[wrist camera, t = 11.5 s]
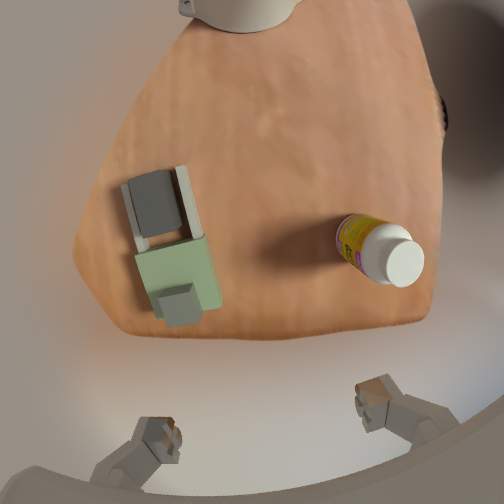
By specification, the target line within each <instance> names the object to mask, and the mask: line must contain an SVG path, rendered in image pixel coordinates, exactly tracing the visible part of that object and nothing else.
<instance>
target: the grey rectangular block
mask: <svg viewBox="0 0 504 504" xmlns="http://www.w3.org/2000/svg"><path fill="white" fill-rule="evenodd" d="M128 183H129V187H130V191H131V195H132V199H133V203H134V207H135V211H136V215H137V219H138V222H139V226H140V230H141V233H142V237H143V239H145V238H149V237H152V236H156V235H160V234H163V233H167V232H171V231H175V230H176V229H178V228H179V227H180V226H182V225H183V224H184V222H183V219H182V215H181V211H180V207H179V203H178V199H177V195H176V191H175V187H174V183H173V179H172V175H171V171H167V170H157V171H154V172H150V173H147V174H144V175H141V176H138V177H136V178H133V179H130V180H128Z"/></svg>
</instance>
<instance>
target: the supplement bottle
mask: <svg viewBox="0 0 504 504" xmlns="http://www.w3.org/2000/svg"><path fill="white" fill-rule="evenodd" d="M336 245H337V249H338V251H339V253H340V254H341V255H342V256H343V257H344V258H345V259H346V260H347V261H349V262H350V263H351V264H352V265H354V266H355V267H356V268H357V269H359V270H360V271H361V272H362V273H364V274H365V275H366V276H367V277H368V278H370V279H371V280H372V281H374V282H376V283H379V284H393V285H394V286H397V287H406V286H408V285H410V284H412V283H413V282H414V281H415V280H416V279H417V278H418V277H419V275H420V273H421V271H422V269H423V265H424V255H423V251H422V249H421V247H420V246H419V245H418V244H417V243H415V242H413V240H412V238H411V236H410V234H409V233H408V232H407V231H406V230H405V229H404V228H403V227H401V226H399V225H396V224H393V223H390V222H387V221H384V220H381V219H378V218H375V217H372V216H369V215H365V214H354V215H351V216H349V217H347V218H346V219H345V220H344V221H343V222H342V223H341V224H340V226H339V228H338V230H337V233H336Z"/></svg>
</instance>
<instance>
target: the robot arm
mask: <svg viewBox="0 0 504 504" xmlns="http://www.w3.org/2000/svg"><path fill="white" fill-rule="evenodd" d="M301 1H303V0H180V1H179V13H180V14H181V15H183V16H187V17H193V18H198V19H200V20H202V21H204V22H205V23H207V24H209V25H211V26H213V27H215V28H218V29H221V30H224V31H229V32H239V33H248V32H257V31H262V30H266V29H269V28H272V27H274V26H277V25H278V24H280V23H282V22H283V21H284V20H286V19H287V18H288V17H289V15H290V14H291V13H292V11H293V9H294V7H295V5H296V4H298V3H299V2H301ZM186 3H189V4H186ZM355 391H356V394H357V396H356V397H355V406H356V410H357V412H358V415H359V416H360V417H362V418H363V419H362V423H363V426H364V428H365V430H366V432H367V433H369V432H372V431H375V430H378V429H381V428H384V427H385V428H386V429H388V430H390V431H391V432H393V433H395V434H397V435H398V436H400V437H402V438H403V439H405V440H407V441H409V442H411V443H412V446H411V449H410V451H409V452H408V453H406V454H404V455H401V456H399V457H396V458H394V459H392V460H389V461H387V462H384V463H382V464H379V465H376V466H374V467H371V468H368V469H365V470H362V471H359V472H356V473H353V474H350V475H346V476H343V477H339V478H336V479H332V480H329V481H325V482H320V483H316V484H312V485H307V486H302V487H298V488H292V489H286V490H281V491H273V492H266V493H257V494H248V495H235V496H207V497H206V496H174V495H161V494H151V493H145V492H144V491H143V490H142V489H141V487H142V485H143V484H144V483H145V482H146V481H147V480H148V479H149V478H150V477H151V476H152V474H153V473H154V472H155V471H156V470H157V469H158V468H159V467H160V466H161V464H178V460H179V455H180V452H179V451H178V449H179V448H180V447H181V445H182V435H181V432H180V430H179V428H178V427H176V426H174V423H175V421H174V420H173V418H172V417H141V418H140V419H139V420H138V423H137V426H136V428H135V431H134V433H133V436H132V439H131V441H127V442H126V443H125V444H123V445H122V446H121V447H120V448H118V449H117V450H115V451H114V452H113V453H111V454H110V455H109V456H107V457H106V458H105V459H103V460H102V461H101V462H99V463H98V464H97V465H96V466H95V469H94V471H93V474H92V476H91V479H90V481H89V482H86V481H82V480H79V479H75V478H71V477H68V476H65V475H62V474H59V473H56V472H53V471H50V470H47V469H45V468H42V467H39V466H31V467H29V468H26V469H24V470H22V471H21V472H19V473H17V474H15V475H13V476H12V477H11V478H10V479H9V481H8V482H7V483H6V485H5V486H4V488H3V490H2V491H1V492H0V504H504V395H502V396H501V397H500V398H499V399H497V400H496V401H495V402H493V403H492V404H490V405H489V406H488V407H486V408H485V409H484V410H482V411H481V412H479V413H478V414H476V415H475V416H473V417H472V418H470V419H469V420H467V421H466V422H464V423H462V424H461V425H460V423H459V422H458V421H457V419H456V418H455V417H454V416H453V414H452V413H451V412H450V410H449V409H448V408H445V407H443V406H439V405H437V404H434V403H431V402H428V401H425V400H422V399H419V398H416V397H413V396H410V395H408V394H405V395H403V394H402V392H401V391H400V390H399V388H398V387H397V385H396V384H395V382H394V381H393V380H392V379H391V377H390V375H389V374H385V375H382V376H379V377H377V378H373V379H370V380H368V381H365V382H362V383H359V384H356V386H355Z"/></svg>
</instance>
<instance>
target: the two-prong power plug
mask: <svg viewBox="0 0 504 504" xmlns="http://www.w3.org/2000/svg"><path fill="white" fill-rule="evenodd" d="M175 169H176V173H177V177H178V181H179V186H180V190H181V194H182V198H183V202H184V206H185V210H186V213H187V217H188V221H189V225H190V229H191V232H192V236H193V237H191V238H187V239H183V240H179V241H175V242H171V243H167V244H163V245H160V246H156V247H152V248H150V245H149V242H148V238H145V239H143V237H142V233H141V230H140V226H139V222H138V219H137V215H136V211H135V207H134V203H133V199H132V195H131V191H130V187H129V183H125V184H122V185H120V186H121V190H122V194H123V198H124V202H125V206H126V210H127V214H128V218H129V221H130V225H131V229H132V232H133V236H134V239H135V243H136V246H137V249H138V252H139V253H137V254H136V255H135V259H136V263H137V266H138V269H139V272H140V275H141V278H142V281H143V283H144V286H145V289H146V292H147V295H148V297H149V300H150V303H151V306H152V308H153V311H154V313H155V316H156V319H157V320H159V319H164V318H165V320H166V322H167V325H168V327H169V328H171V327H177V326H182V325H188V324H193V323H199V322H200V319H201V316H202V312H203V311H206V310H211V309H216V308H221V307H222V302H223V296H222V292H221V289H220V285H219V282H218V278H217V275H216V271H215V268H214V264H213V260H212V257H211V253H210V249H209V246H208V242H207V238H206V235H205V234H203V231H202V227H201V223H200V219H199V215H198V211H197V208H196V204H195V200H194V196H193V192H192V187H191V183H190V179H189V175H188V171H187V167H186V166H185V165H181V166H178V167H175Z"/></svg>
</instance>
